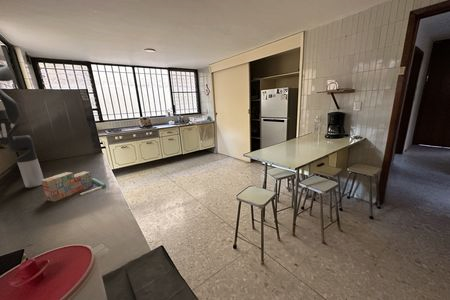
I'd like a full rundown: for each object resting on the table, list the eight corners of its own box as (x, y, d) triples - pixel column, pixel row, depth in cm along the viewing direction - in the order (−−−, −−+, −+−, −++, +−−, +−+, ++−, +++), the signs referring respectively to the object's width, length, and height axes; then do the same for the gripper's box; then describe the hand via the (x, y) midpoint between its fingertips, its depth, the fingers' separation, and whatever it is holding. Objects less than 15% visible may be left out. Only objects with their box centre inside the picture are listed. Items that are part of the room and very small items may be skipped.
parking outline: (70, 187, 116) (70, 184, 115) (94, 180, 126) (93, 177, 125) (81, 195, 105) (80, 192, 104) (106, 186, 115) (105, 183, 114)
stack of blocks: (87, 184, 120) (83, 166, 117) (93, 185, 118) (89, 167, 115) (47, 200, 101) (40, 179, 98) (53, 202, 99) (47, 181, 96)
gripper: (12, 109, 96) (23, 141, 100) (-30, 110, 86) (-16, 146, 90) (14, 108, 91) (25, 142, 96) (-30, 110, 81) (-16, 148, 86)
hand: (5, 144), depth 93 cm, fingers closed
